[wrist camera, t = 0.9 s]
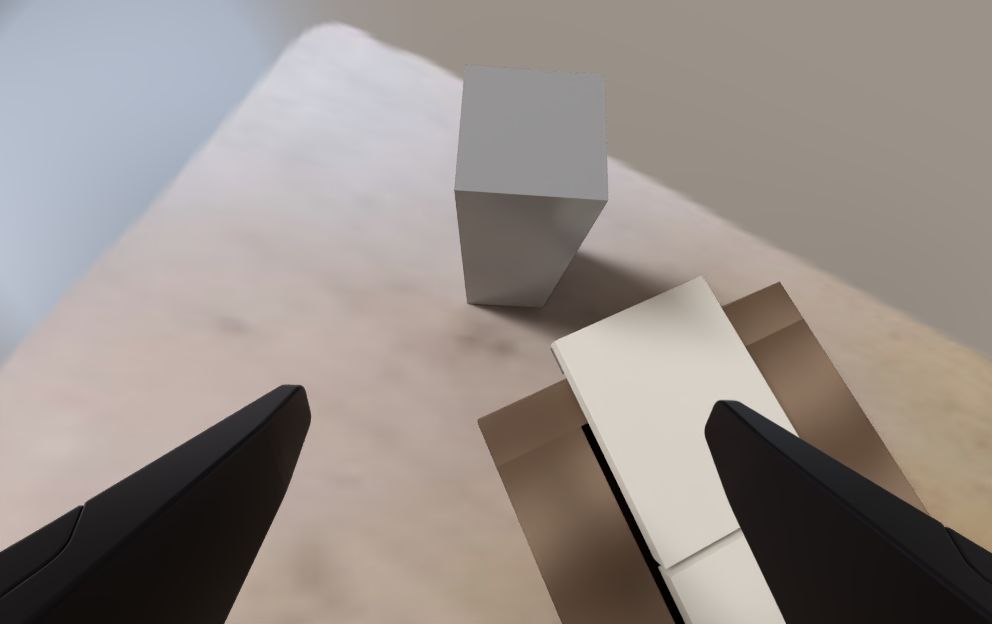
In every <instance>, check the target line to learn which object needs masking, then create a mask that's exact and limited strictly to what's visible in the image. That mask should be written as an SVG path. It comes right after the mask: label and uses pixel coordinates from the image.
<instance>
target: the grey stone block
mask: <svg viewBox="0 0 992 624" xmlns="http://www.w3.org/2000/svg"><path fill="white" fill-rule="evenodd" d="M606 133H607V132H606V92H605V75H596V74H584V73H571V72H558V71H545V70H531V69H518V68H506V67H493V66H480V65H467V64H466V65H465V73H464V84H463V96H462V108H461V119H460V131H459V142H458V154H457V165H456V177H455V189H454V191H455V200H456V209H457V218H458V226H459V235H460V244H461V253H462V262H463V270H464V279H465V288H466V297H467V303H469V304H486V305H503V306H520V307H536V308H542V307H543V306H544V304H545V303H546V301H547V299H548V298H549V296H550V294H551V293H552V291H553V290H554V288H555V286H556V285H557V283H558V281H559V280H560V278H561V277H562V275H563V273H564V272H565V270H566V268H567V267H568V265H569V263H570V262H571V260H572V259H573V257H574V255H575V254H576V252H577V250H578V249H579V247H580V246H581V244H582V242H583V241H584V239H585V237H586V236H587V234H588V232H589V231H590V229H591V228H592V226H593V224H594V223H595V221H596V219H597V218H598V216H599V215H600V213H601V211H602V210H603V208H604V206H605V205H606V203H607V202H608V174H607V134H606Z"/></svg>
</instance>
